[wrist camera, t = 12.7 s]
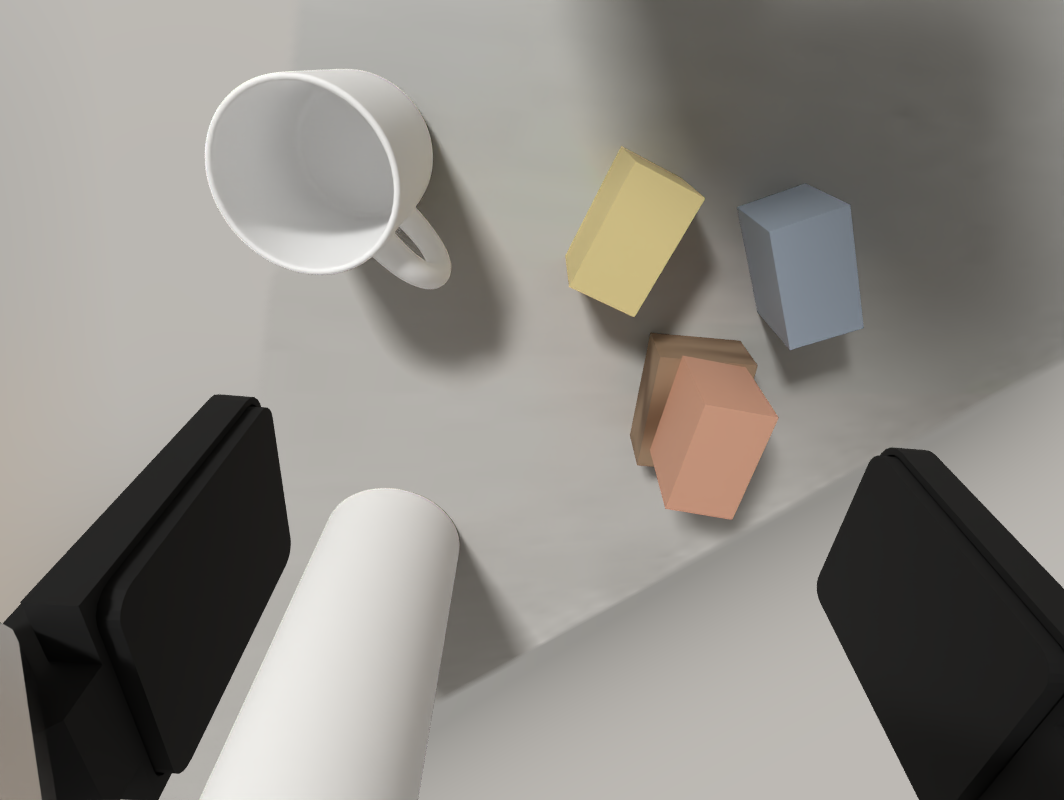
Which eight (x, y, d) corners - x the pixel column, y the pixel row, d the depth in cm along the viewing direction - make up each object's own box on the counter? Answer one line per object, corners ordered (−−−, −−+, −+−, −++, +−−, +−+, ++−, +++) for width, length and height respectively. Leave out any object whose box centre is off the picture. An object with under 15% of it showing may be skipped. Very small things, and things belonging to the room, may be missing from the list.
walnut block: (649, 331, 41) (660, 357, 37) (739, 339, 41) (757, 365, 37) (629, 433, 45) (637, 465, 41) (711, 440, 45) (725, 472, 41)
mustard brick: (621, 146, 35) (635, 161, 30) (681, 177, 36) (705, 198, 31) (565, 255, 38) (569, 286, 33) (621, 282, 39) (634, 317, 34)
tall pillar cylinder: (311, 491, 47) (113, 865, 25) (449, 484, 47) (369, 858, 25) (342, 592, 52) (200, 975, 30) (467, 586, 52) (414, 971, 30)
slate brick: (736, 206, 37) (769, 231, 31) (805, 183, 36) (850, 204, 31) (757, 311, 40) (790, 350, 35) (820, 291, 39) (863, 328, 34)
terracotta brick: (682, 355, 37) (705, 404, 32) (745, 367, 38) (778, 417, 32) (649, 450, 41) (665, 508, 35) (708, 460, 41) (732, 519, 36)
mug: (507, 213, 37) (496, 262, 28) (408, 295, 40) (369, 366, 30) (360, 31, 32) (291, 21, 23) (260, 138, 35) (163, 166, 26)
